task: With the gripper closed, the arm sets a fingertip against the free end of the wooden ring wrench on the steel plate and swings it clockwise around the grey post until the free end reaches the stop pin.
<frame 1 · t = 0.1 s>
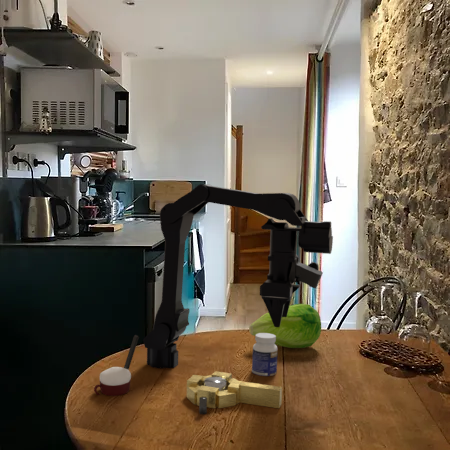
hand: (280, 321, 116), 15 cm above the table, tool pointing down, fingers open, 9 cm apart
lettuce: (284, 348, 146), on the table
wooden ring wrench: (234, 390, 106), point 3 cm above the table, hinge at 0.0°
steel plate: (214, 403, 107), on the table
cocoa: (116, 397, 109), on the table
pill bottle: (264, 378, 123), on the table
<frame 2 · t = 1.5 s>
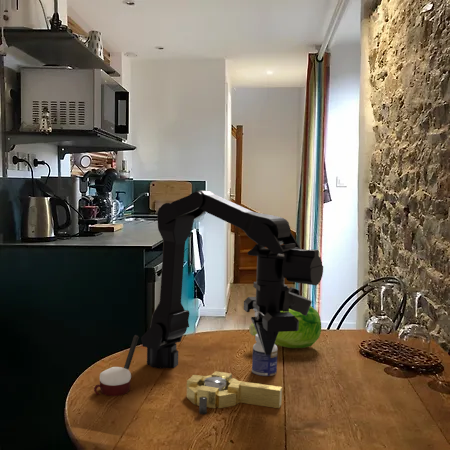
hand: (267, 354, 109), 10 cm above the table, tool pointing down, fingers closed
nothing on the table moved.
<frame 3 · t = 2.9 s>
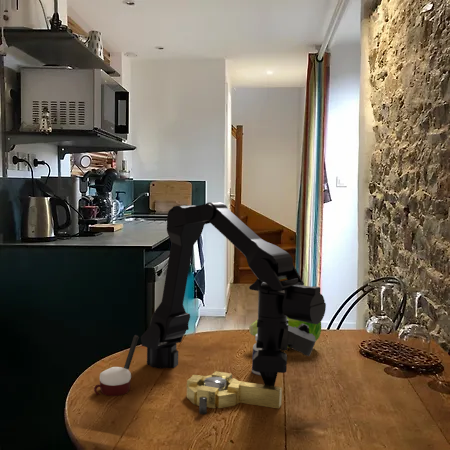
hand: (270, 391, 106), 3 cm above the table, tool pointing down, fingers closed
wooden ring wrench: (234, 391, 106), point 3 cm above the table, hinge at 0.6°, touching gripper
everything else where it was.
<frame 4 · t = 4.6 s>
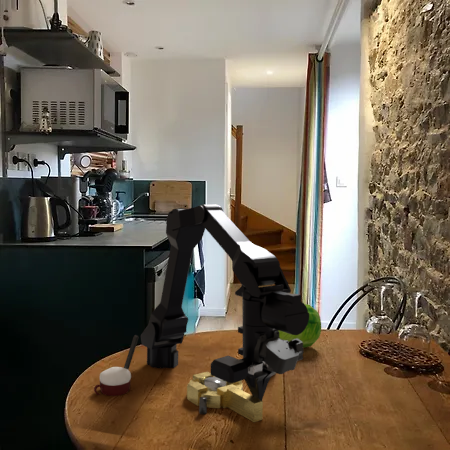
hand: (258, 404, 99), 3 cm above the table, tool pointing down, fingers closed
wooden ring wrench: (227, 394, 104), point 3 cm above the table, hinge at 35.8°, touching gripper
everything else where it was.
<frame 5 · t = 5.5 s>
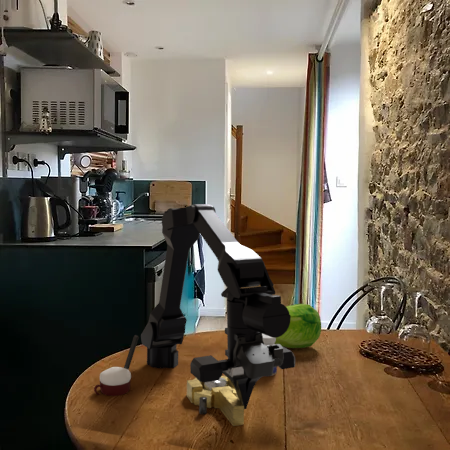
hand: (244, 408, 97), 3 cm above the table, tool pointing down, fingers closed
wooden ring wrench: (221, 395, 103), point 3 cm above the table, hinge at 53.5°, touching gripper
everything else where it was.
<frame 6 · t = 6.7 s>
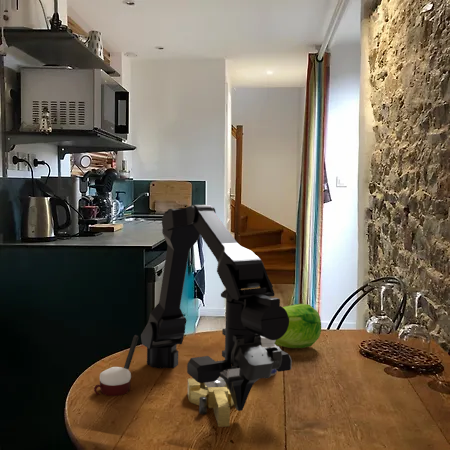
hand: (239, 410, 97), 3 cm above the table, tool pointing down, fingers closed
wooden ring wrench: (217, 396, 103), point 3 cm above the table, hinge at 64.8°
everything else where it was.
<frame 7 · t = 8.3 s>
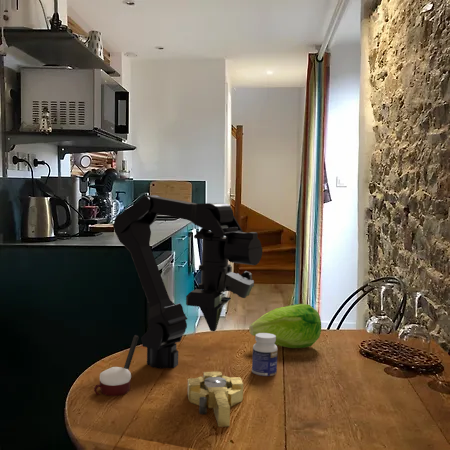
hand: (213, 330, 117), 12 cm above the table, tool pointing down, fingers closed
nothing on the table moved.
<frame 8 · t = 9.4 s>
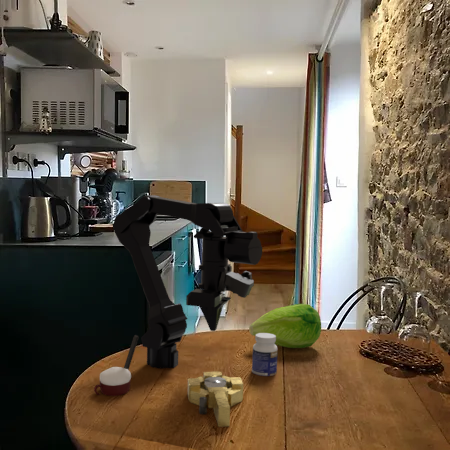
hand: (213, 330, 117), 12 cm above the table, tool pointing down, fingers closed
nothing on the table moved.
at the end: wooden ring wrench at +65° (first picture: +0°); the gripper is holding nothing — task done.
